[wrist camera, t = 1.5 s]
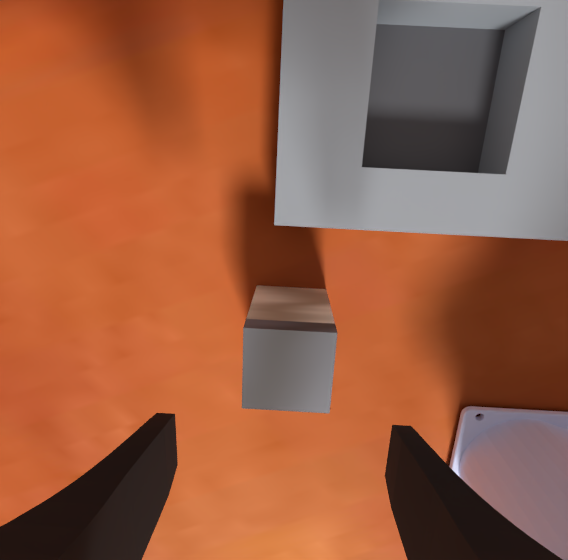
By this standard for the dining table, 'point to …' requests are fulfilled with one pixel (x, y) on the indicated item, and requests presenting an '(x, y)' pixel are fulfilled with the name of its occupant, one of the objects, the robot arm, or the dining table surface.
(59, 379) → the dining table surface
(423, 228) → the socket board
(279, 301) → the peg
